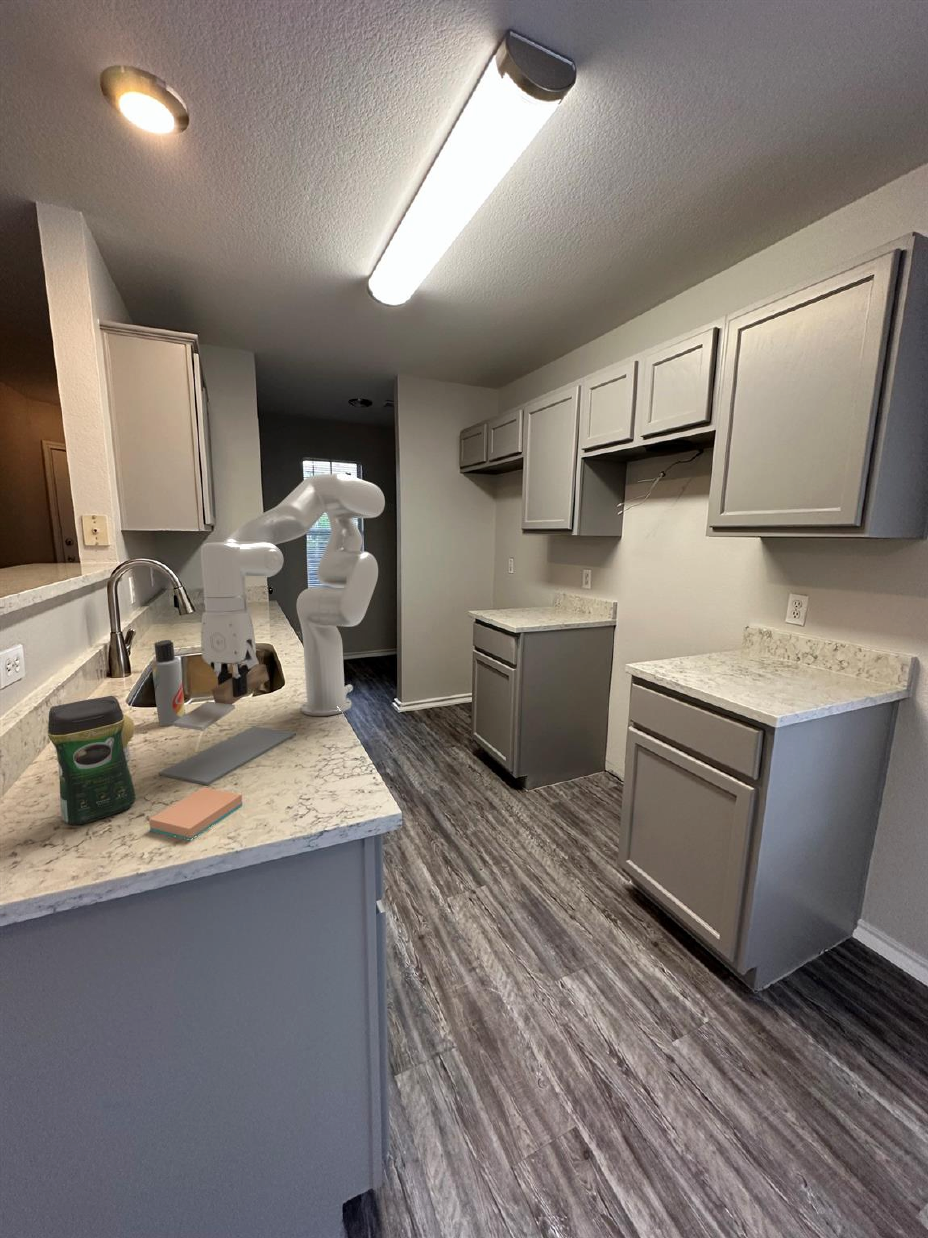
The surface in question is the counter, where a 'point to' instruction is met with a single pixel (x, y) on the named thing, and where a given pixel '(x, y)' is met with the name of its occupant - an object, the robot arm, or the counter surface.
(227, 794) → the kitchen sponge
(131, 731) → the light bulb
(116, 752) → the coffee jar
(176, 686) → the lotion bottle
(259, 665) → the turner
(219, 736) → the counter surface
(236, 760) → the mat
